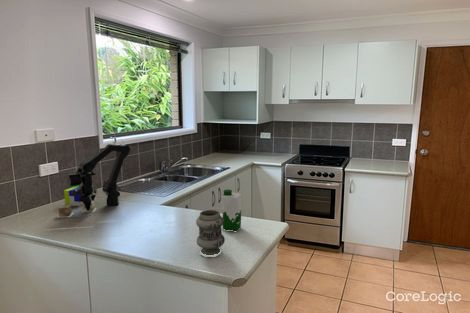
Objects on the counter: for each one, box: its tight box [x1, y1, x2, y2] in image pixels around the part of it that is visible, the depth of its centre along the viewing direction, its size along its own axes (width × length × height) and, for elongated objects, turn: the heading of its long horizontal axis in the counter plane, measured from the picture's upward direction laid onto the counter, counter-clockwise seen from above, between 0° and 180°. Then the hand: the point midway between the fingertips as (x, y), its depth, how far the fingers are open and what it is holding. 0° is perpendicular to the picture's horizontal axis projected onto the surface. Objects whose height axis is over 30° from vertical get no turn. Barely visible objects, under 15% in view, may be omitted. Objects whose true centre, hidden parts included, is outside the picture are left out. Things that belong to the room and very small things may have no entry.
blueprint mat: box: [55, 207, 97, 219], centre depth 194 cm, size 18×14×1 cm
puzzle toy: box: [63, 186, 83, 207], centre depth 212 cm, size 10×10×10 cm
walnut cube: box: [58, 204, 72, 218], centre depth 190 cm, size 5×5×5 cm
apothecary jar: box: [195, 209, 226, 255], centre depth 142 cm, size 12×12×18 cm
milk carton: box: [221, 189, 242, 232], centre depth 169 cm, size 9×9×20 cm
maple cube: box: [82, 199, 96, 212], centre depth 198 cm, size 5×5×5 cm
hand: (89, 209), depth 199 cm, fingers closed on maple cube, 5 cm apart
